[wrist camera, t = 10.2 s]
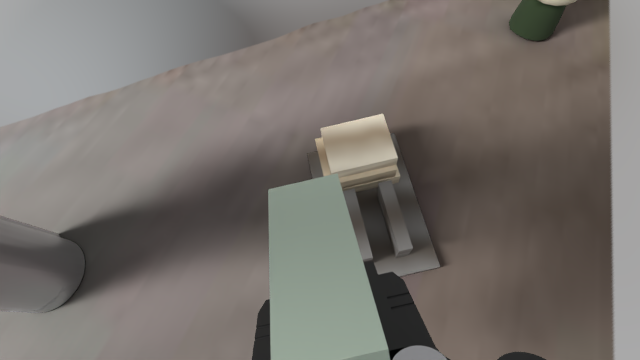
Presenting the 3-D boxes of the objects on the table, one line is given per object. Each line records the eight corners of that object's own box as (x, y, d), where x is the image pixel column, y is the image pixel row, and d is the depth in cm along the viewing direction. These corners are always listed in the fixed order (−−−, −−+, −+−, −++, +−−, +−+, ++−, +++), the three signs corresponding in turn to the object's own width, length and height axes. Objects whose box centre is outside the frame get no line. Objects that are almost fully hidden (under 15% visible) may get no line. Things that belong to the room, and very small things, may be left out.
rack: (438, 268, 40) (453, 257, 33) (337, 291, 40) (333, 284, 34) (393, 136, 47) (398, 107, 41) (307, 156, 47) (300, 130, 41)
